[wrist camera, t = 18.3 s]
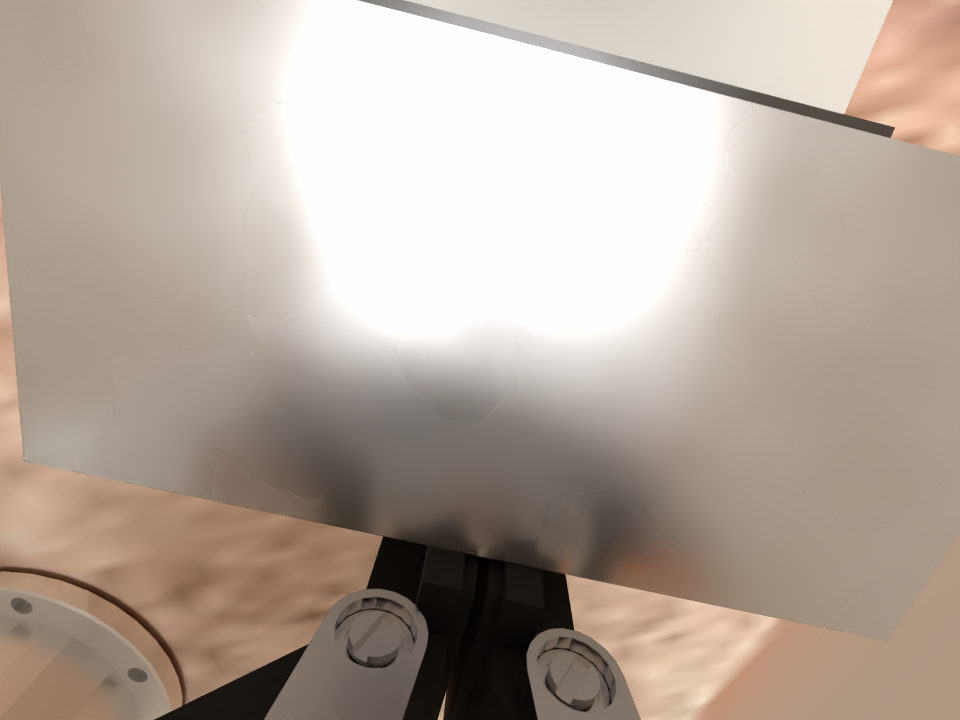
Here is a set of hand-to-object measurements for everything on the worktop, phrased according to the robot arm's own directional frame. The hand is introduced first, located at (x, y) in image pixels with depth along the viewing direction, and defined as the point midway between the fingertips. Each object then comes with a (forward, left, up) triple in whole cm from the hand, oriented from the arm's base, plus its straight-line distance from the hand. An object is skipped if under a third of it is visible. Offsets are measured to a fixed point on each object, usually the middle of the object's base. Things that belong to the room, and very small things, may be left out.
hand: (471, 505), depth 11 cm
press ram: (+5, 0, -7) cm, 8 cm away
